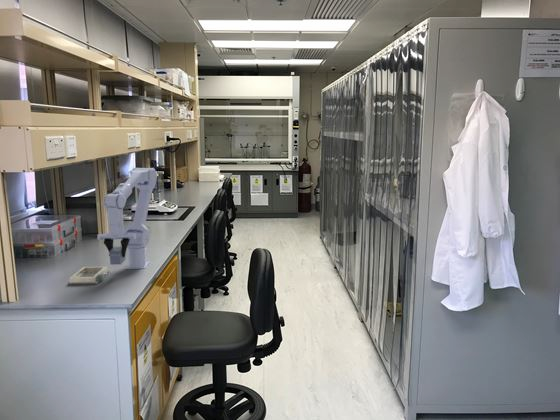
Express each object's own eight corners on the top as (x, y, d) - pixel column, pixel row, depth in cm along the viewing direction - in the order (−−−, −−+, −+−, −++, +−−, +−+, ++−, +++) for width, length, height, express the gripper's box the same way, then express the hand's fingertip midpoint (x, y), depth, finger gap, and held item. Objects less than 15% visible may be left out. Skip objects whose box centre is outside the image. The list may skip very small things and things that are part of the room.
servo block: (116, 258, 183) (115, 245, 182) (126, 258, 183) (125, 245, 182) (109, 265, 173) (108, 252, 172) (119, 265, 173) (118, 252, 172)
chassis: (82, 272, 183) (81, 266, 183) (111, 272, 184) (110, 266, 184) (67, 284, 169) (67, 278, 168) (99, 284, 170) (98, 277, 169)
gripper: (93, 225, 171) (96, 259, 174) (131, 225, 172) (133, 259, 175) (99, 222, 178) (102, 254, 180) (136, 222, 179) (138, 254, 181)
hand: (117, 256), depth 178 cm, fingers closed on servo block, 4 cm apart
